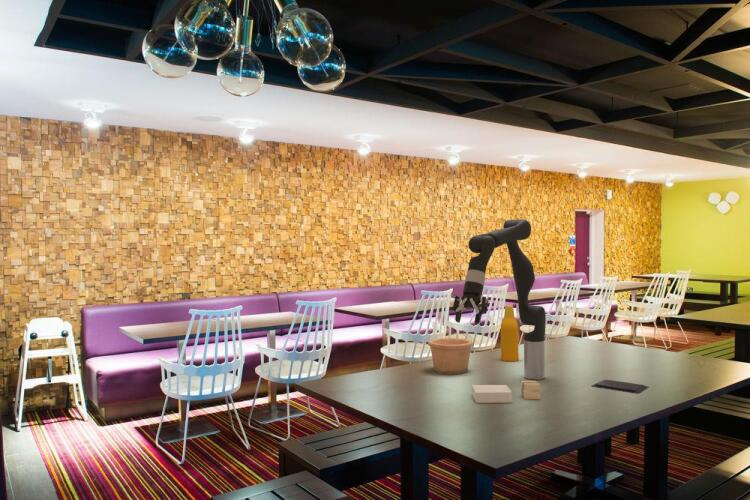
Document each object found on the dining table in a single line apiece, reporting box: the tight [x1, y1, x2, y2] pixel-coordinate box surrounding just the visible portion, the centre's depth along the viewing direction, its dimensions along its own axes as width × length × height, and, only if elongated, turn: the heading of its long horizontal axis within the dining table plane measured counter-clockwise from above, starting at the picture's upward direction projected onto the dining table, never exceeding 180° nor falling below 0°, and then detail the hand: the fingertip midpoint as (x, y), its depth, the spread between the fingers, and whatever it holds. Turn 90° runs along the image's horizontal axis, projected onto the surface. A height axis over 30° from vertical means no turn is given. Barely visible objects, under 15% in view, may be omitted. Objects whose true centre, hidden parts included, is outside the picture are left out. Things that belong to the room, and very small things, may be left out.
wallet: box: [590, 379, 650, 395], centre depth 244 cm, size 20×2×15 cm
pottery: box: [427, 337, 474, 375], centre depth 280 cm, size 22×22×14 cm
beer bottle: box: [500, 305, 520, 362], centre depth 304 cm, size 9×9×29 cm
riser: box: [471, 384, 513, 404], centre depth 228 cm, size 12×14×4 cm
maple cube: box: [520, 380, 541, 400], centre depth 229 cm, size 6×6×6 cm
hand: (466, 323), depth 220 cm, fingers open, 8 cm apart
